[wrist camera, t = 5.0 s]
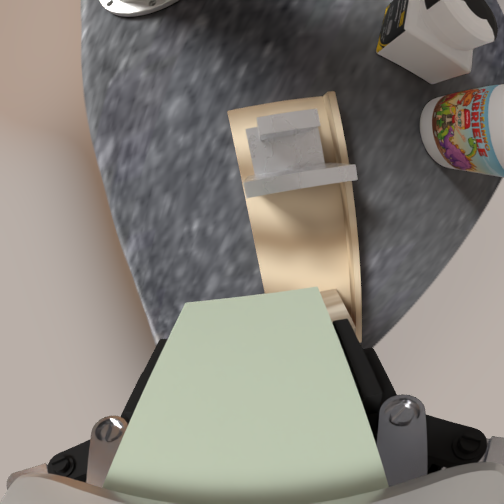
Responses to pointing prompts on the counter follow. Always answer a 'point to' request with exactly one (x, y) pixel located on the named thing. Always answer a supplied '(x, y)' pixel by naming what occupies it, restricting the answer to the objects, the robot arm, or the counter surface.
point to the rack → (306, 218)
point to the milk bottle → (466, 130)
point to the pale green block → (249, 410)
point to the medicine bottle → (435, 35)
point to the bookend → (290, 155)
